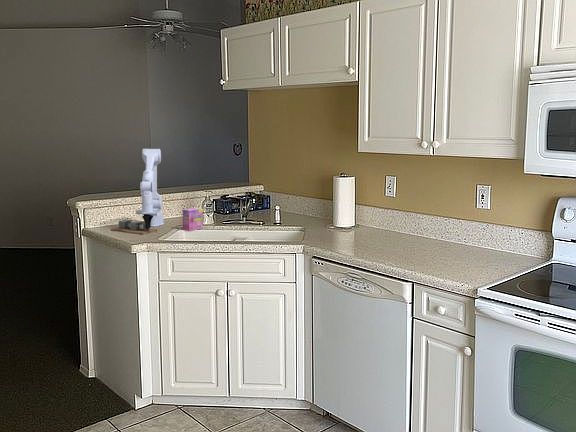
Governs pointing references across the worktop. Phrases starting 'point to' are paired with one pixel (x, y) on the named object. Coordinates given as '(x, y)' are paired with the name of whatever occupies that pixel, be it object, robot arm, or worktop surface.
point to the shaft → (138, 226)
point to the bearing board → (131, 227)
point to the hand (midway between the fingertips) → (148, 228)
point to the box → (192, 219)
